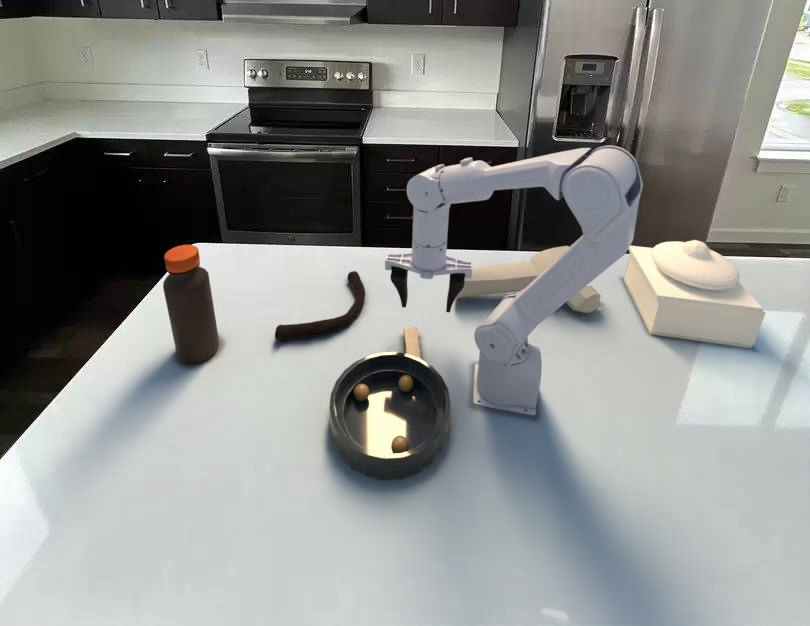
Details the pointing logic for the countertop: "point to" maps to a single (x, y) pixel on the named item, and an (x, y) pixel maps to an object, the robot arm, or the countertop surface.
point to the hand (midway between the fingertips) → (426, 306)
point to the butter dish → (692, 294)
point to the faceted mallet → (524, 280)
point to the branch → (326, 325)
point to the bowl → (389, 415)
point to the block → (411, 342)
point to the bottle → (190, 305)
